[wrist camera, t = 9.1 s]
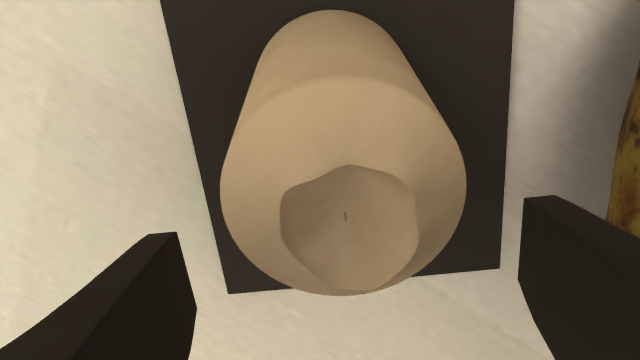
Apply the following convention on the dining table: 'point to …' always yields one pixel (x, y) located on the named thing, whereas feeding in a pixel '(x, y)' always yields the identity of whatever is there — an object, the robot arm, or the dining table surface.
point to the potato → (627, 168)
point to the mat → (424, 58)
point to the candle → (340, 161)
